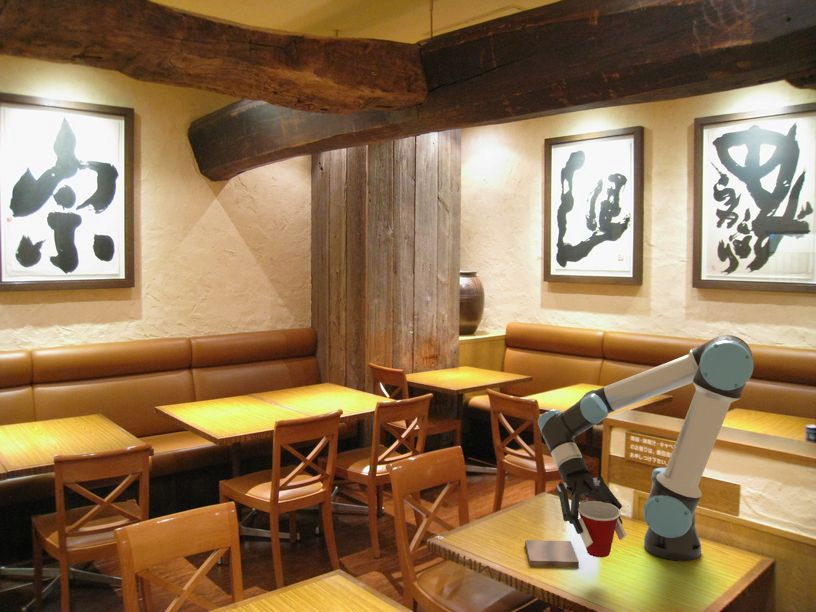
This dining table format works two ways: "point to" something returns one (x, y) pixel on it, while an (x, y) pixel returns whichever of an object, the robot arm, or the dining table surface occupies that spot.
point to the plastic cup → (599, 525)
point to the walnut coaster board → (551, 553)
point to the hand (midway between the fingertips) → (606, 541)
